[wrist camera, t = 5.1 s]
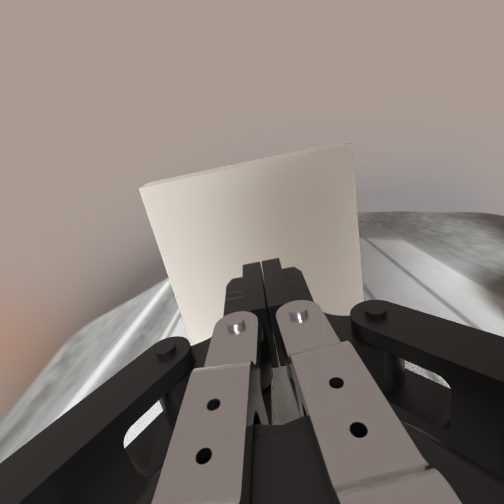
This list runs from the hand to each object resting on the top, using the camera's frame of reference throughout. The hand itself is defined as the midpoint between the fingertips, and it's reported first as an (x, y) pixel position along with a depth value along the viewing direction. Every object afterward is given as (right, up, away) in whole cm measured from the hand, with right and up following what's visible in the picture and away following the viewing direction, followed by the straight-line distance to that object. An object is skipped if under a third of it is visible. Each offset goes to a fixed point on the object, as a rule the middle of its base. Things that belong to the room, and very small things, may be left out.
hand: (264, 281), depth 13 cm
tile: (+1, -5, +10) cm, 11 cm away
